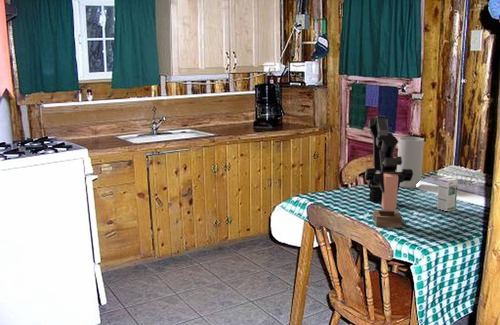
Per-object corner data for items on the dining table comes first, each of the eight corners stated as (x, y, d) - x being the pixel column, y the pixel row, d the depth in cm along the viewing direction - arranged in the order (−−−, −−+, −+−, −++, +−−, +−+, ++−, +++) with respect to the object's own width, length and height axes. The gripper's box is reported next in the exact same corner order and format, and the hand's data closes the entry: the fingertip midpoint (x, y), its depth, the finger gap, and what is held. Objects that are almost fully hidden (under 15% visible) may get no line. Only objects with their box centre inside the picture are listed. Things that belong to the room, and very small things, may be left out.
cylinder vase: (424, 184, 274) (427, 138, 269) (415, 189, 265) (418, 141, 259) (401, 181, 282) (404, 135, 277) (392, 186, 272) (394, 139, 267)
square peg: (381, 206, 215) (383, 173, 212) (393, 206, 215) (396, 173, 212) (383, 209, 210) (385, 176, 207) (396, 210, 210) (398, 176, 207)
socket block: (373, 218, 219) (373, 209, 218) (397, 219, 218) (397, 210, 217) (376, 226, 210) (376, 217, 209) (401, 227, 209) (402, 217, 208)
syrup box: (446, 212, 228) (449, 180, 225) (436, 208, 233) (438, 177, 230) (455, 210, 231) (458, 178, 228) (445, 206, 236) (447, 175, 233)
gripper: (367, 149, 212) (369, 182, 204) (413, 149, 211) (418, 182, 202) (363, 163, 221) (366, 195, 213) (408, 164, 220) (412, 196, 212)
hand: (390, 192), depth 210 cm, fingers closed on square peg, 5 cm apart
